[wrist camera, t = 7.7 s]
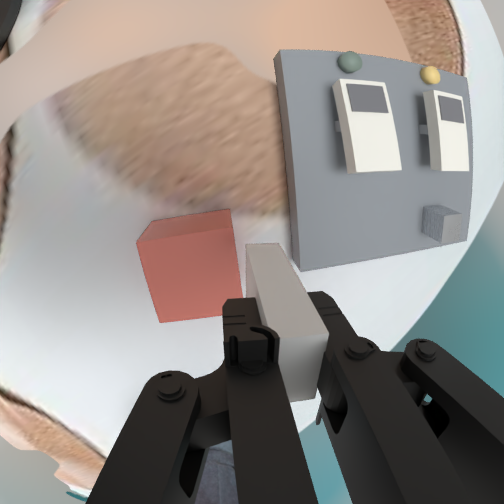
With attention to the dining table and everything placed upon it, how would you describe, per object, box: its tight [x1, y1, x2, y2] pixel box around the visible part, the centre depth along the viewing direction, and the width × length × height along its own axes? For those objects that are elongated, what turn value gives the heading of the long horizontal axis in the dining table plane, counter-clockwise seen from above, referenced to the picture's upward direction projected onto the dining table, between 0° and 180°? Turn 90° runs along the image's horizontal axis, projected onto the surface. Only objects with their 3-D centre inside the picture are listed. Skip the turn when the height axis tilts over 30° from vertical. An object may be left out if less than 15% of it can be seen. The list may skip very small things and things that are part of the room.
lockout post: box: [421, 205, 462, 244], centre depth 21 cm, size 2×2×3 cm
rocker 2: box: [423, 90, 469, 171], centre depth 17 cm, size 6×4×2 cm, turn 6°
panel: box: [273, 50, 473, 272], centre depth 21 cm, size 17×19×4 cm
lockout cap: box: [136, 209, 243, 323], centre depth 21 cm, size 6×6×5 cm
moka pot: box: [195, 440, 239, 504], centre depth 22 cm, size 10×15×20 cm, turn 111°
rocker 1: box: [332, 79, 402, 174], centre depth 17 cm, size 6×4×2 cm, turn 6°
